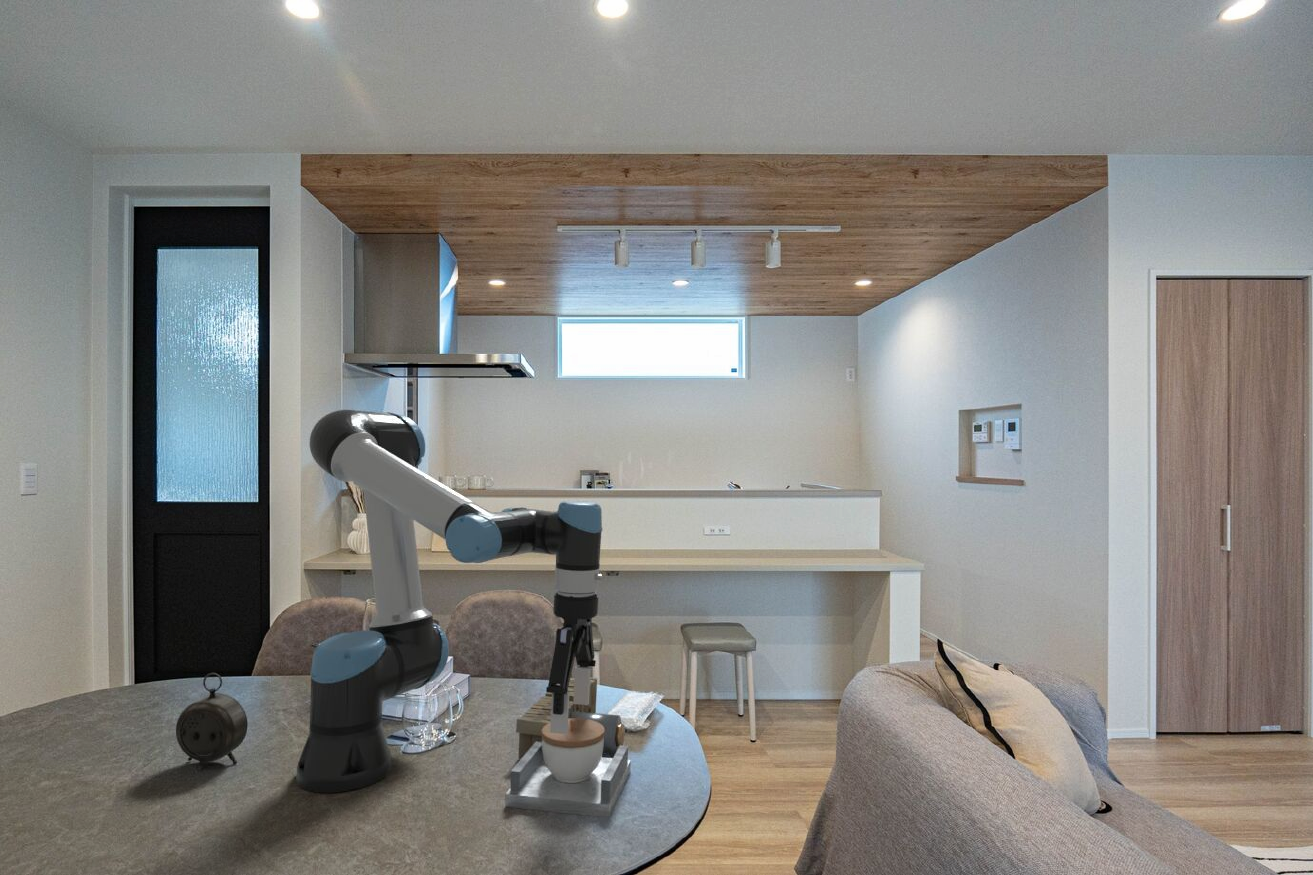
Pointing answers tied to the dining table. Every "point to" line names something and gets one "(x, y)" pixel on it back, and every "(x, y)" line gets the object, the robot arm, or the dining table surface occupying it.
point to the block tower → (548, 715)
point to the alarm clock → (211, 727)
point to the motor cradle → (584, 798)
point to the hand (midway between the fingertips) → (570, 717)
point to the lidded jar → (573, 750)
